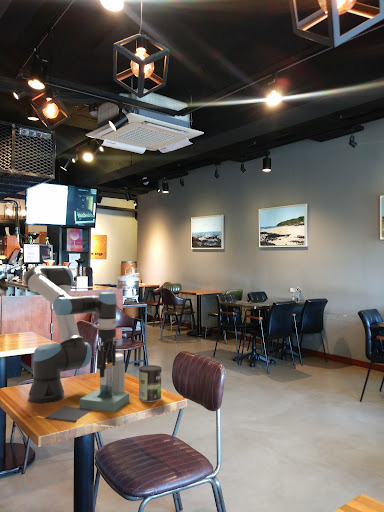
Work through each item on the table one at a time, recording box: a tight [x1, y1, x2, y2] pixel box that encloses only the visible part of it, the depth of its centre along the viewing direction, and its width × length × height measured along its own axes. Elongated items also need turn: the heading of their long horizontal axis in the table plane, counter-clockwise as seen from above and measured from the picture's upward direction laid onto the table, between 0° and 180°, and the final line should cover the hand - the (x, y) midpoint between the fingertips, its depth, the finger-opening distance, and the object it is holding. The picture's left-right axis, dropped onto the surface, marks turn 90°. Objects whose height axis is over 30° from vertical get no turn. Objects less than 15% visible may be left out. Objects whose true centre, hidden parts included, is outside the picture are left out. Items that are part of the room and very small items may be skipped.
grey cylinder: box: [99, 362, 112, 396], centre depth 174 cm, size 5×5×13 cm
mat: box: [45, 405, 94, 423], centre depth 162 cm, size 13×13×1 cm
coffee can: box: [138, 364, 163, 403], centre depth 183 cm, size 10×10×14 cm
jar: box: [106, 352, 126, 393], centre depth 190 cm, size 10×10×18 cm
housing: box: [79, 389, 130, 413], centre depth 174 cm, size 16×14×4 cm
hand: (106, 382), depth 174 cm, fingers closed on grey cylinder, 5 cm apart
